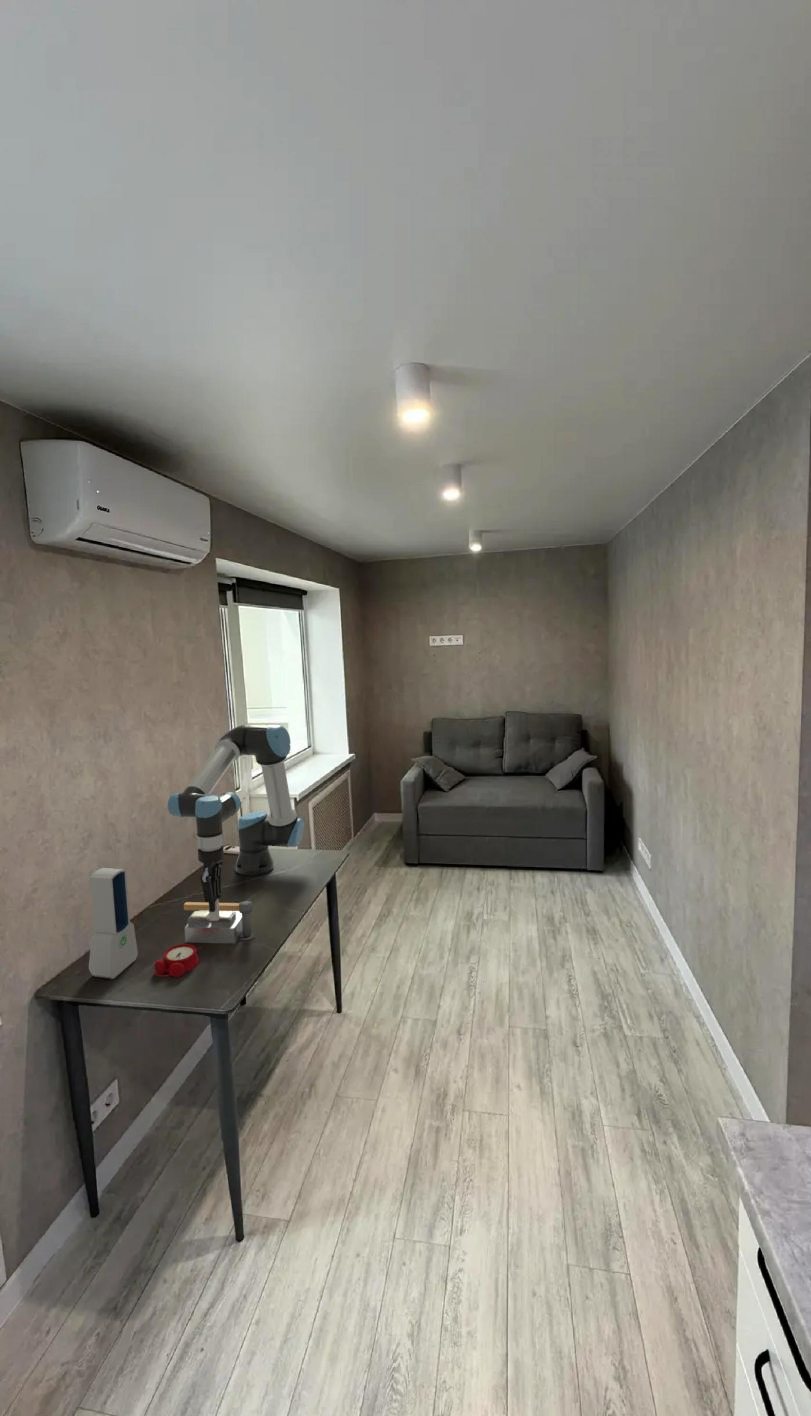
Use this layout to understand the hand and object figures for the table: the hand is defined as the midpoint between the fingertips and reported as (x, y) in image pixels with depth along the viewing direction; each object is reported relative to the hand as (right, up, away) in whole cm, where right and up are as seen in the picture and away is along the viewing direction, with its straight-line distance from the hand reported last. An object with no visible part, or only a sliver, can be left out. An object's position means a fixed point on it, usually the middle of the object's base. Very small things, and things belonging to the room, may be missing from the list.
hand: (214, 919), depth 189 cm
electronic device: (-26, -11, -11) cm, 30 cm away
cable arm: (-1, -7, +7) cm, 10 cm away
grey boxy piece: (+1, -8, +9) cm, 11 cm away
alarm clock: (-8, -11, -11) cm, 17 cm away
